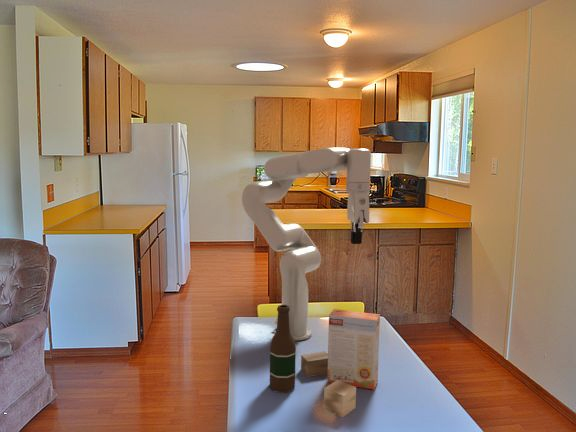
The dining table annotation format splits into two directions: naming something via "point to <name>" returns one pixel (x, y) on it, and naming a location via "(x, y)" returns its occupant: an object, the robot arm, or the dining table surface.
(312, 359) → the walnut block
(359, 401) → the dining table surface
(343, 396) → the maple block
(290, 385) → the beer bottle
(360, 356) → the cracker box
